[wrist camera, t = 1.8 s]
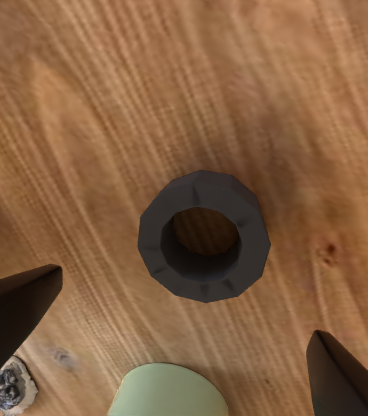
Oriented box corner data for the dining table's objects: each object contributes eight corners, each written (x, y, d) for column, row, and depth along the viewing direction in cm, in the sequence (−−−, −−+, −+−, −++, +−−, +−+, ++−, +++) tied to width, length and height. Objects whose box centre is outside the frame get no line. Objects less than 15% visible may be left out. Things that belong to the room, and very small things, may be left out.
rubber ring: (212, 290, 18) (208, 322, 15) (135, 227, 17) (115, 248, 15) (287, 222, 15) (299, 245, 12) (199, 147, 15) (190, 153, 12)
